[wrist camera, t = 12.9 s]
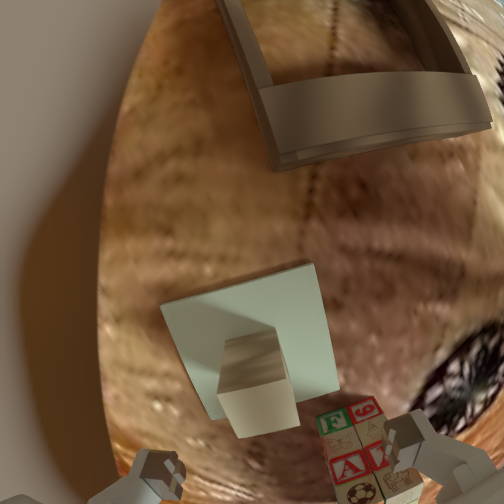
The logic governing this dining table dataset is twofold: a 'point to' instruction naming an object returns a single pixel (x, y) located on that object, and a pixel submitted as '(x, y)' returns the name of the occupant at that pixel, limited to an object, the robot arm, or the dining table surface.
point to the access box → (362, 95)
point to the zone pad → (255, 320)
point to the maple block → (256, 385)
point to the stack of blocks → (364, 458)
